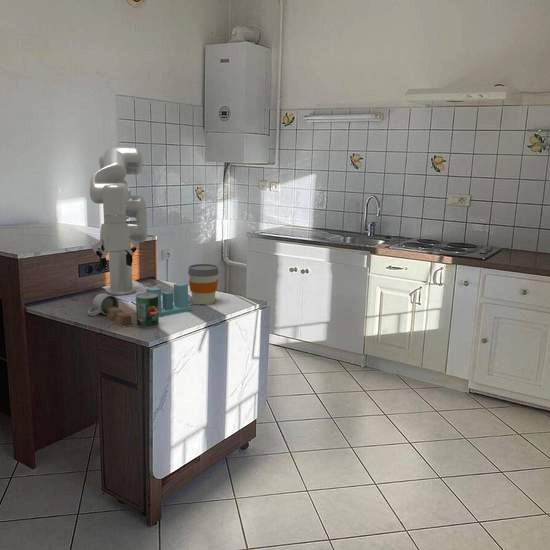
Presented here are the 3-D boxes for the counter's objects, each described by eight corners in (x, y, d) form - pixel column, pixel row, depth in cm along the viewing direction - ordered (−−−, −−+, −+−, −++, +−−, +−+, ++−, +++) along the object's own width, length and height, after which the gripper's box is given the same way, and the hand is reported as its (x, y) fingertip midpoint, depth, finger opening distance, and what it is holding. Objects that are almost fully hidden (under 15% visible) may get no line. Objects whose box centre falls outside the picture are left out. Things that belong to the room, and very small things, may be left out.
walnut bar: (107, 317, 212) (106, 307, 211) (114, 316, 214) (114, 306, 213) (123, 327, 200) (123, 317, 200) (131, 326, 202) (131, 315, 201)
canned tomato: (157, 327, 200) (156, 298, 198) (135, 327, 200) (134, 298, 197) (160, 321, 208) (159, 292, 206) (138, 321, 208) (137, 292, 205)
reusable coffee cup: (182, 300, 236) (182, 266, 233) (207, 296, 244) (207, 262, 241) (199, 307, 227) (199, 271, 224) (224, 302, 235) (224, 267, 232)
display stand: (143, 314, 215) (142, 288, 213) (183, 307, 227) (183, 281, 225) (151, 318, 211) (150, 291, 209) (191, 310, 223) (191, 284, 220)
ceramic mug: (109, 308, 223) (108, 289, 221) (119, 313, 217) (118, 293, 215) (84, 314, 215) (82, 294, 214) (94, 318, 210) (92, 299, 208)
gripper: (132, 217, 207) (133, 262, 211) (86, 220, 196) (89, 268, 199) (142, 219, 201) (143, 266, 205) (95, 222, 190) (98, 271, 194)
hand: (116, 267), depth 202 cm, fingers open, 9 cm apart
